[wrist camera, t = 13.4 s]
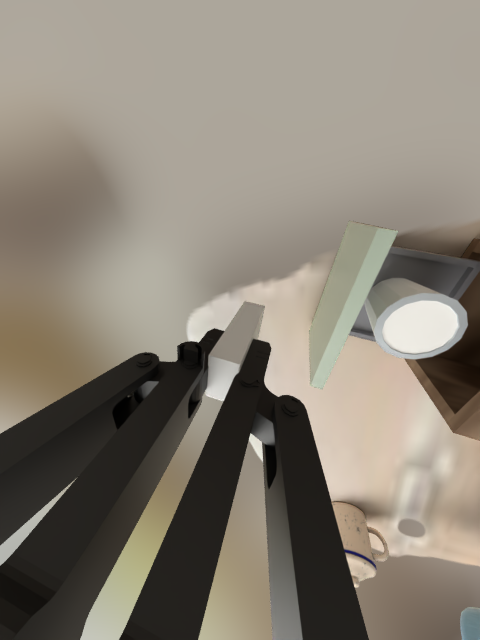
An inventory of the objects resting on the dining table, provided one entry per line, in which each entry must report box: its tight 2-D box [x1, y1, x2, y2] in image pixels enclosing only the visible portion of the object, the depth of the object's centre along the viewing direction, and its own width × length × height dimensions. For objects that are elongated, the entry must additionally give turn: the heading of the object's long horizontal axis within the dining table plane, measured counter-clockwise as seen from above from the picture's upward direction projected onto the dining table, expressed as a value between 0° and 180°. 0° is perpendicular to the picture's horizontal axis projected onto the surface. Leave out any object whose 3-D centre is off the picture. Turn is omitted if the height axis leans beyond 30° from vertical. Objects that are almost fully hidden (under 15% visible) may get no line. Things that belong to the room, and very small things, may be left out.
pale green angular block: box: [309, 221, 480, 389], centre depth 21 cm, size 13×15×11 cm
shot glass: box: [364, 278, 468, 359], centre depth 22 cm, size 7×7×7 cm
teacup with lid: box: [332, 502, 389, 587], centre depth 45 cm, size 12×9×12 cm
